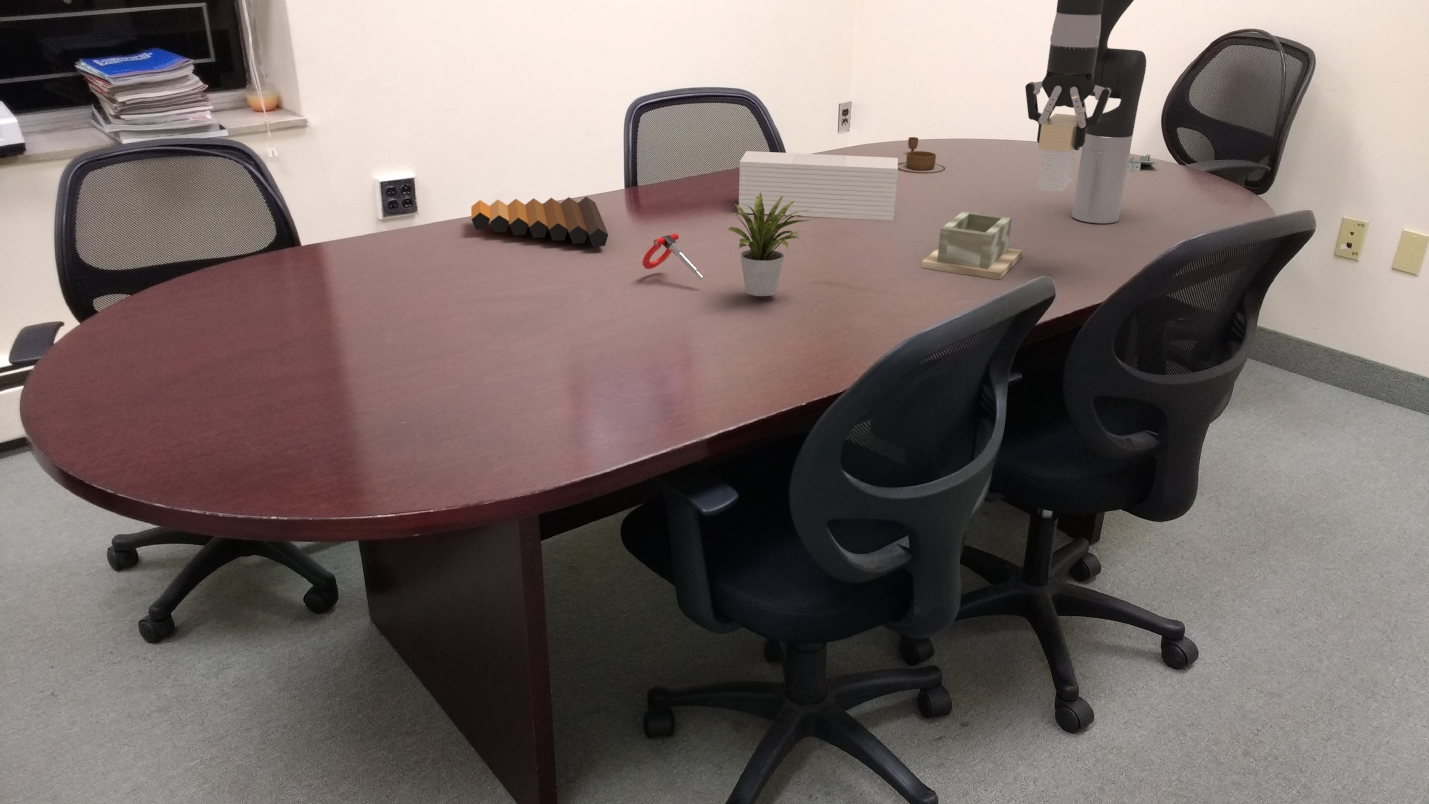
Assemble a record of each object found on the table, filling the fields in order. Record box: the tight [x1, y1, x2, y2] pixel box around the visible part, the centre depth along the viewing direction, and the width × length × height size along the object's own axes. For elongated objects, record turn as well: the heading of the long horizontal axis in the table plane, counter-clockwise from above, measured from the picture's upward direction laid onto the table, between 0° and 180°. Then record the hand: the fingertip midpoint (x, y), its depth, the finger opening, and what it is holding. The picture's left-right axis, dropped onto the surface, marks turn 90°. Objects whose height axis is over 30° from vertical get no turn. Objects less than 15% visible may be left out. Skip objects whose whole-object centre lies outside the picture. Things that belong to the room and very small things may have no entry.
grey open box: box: [920, 210, 1023, 281], centre depth 197 cm, size 16×14×7 cm
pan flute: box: [470, 196, 609, 247], centre depth 213 cm, size 25×3×25 cm
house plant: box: [727, 193, 810, 297], centre depth 177 cm, size 14×14×16 cm
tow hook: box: [641, 233, 704, 280], centre depth 189 cm, size 7×10×7 cm
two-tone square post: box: [1037, 113, 1079, 193], centre depth 186 cm, size 12×5×11 cm, turn 153°
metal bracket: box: [1127, 154, 1158, 173], centre depth 269 cm, size 14×6×15 cm
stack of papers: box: [738, 150, 899, 221], centre depth 230 cm, size 32×11×11 cm, turn 81°
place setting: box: [898, 136, 946, 175], centre depth 269 cm, size 18×20×6 cm
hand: (1059, 147), depth 186 cm, fingers closed on two-tone square post, 5 cm apart
